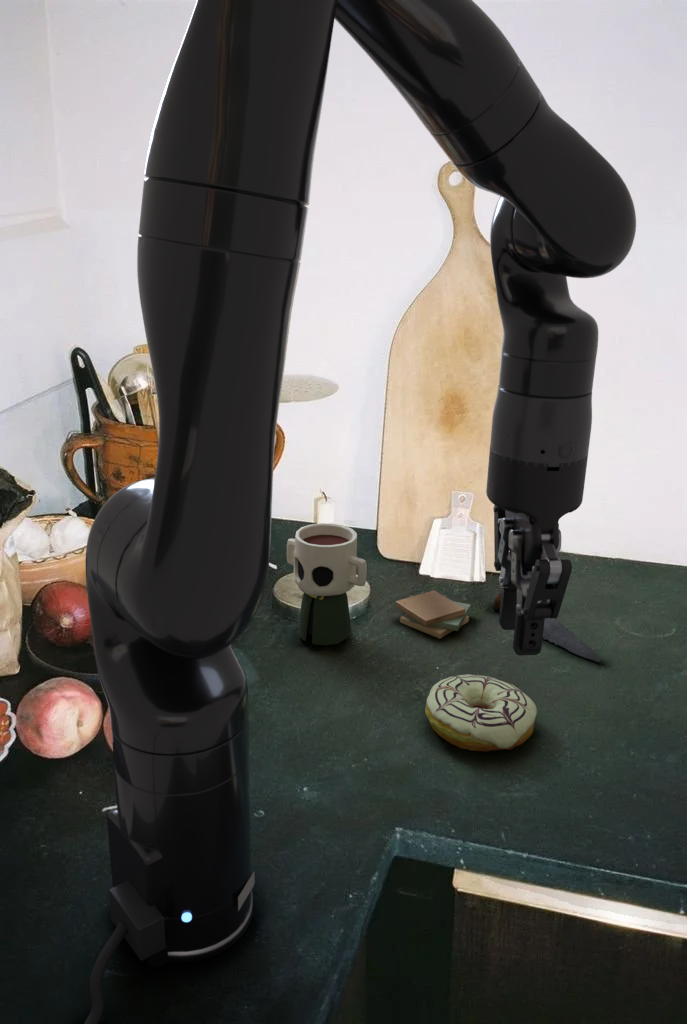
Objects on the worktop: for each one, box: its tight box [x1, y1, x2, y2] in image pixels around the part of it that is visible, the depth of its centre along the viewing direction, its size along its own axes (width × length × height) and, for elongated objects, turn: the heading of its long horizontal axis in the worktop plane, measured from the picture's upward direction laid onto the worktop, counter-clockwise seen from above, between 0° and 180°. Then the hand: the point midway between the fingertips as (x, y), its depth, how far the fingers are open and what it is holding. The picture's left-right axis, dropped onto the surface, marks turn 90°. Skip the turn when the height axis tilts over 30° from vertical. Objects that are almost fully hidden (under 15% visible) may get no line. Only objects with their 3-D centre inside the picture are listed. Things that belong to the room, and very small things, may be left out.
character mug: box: [286, 522, 368, 646], centre depth 108 cm, size 11×7×13 cm, turn 56°
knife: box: [492, 593, 602, 663], centre depth 111 cm, size 17×2×5 cm
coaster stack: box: [395, 589, 472, 640], centre depth 114 cm, size 9×8×2 cm
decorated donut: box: [424, 673, 538, 752], centre depth 92 cm, size 10×11×4 cm
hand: (519, 639), depth 79 cm, fingers open, 3 cm apart
